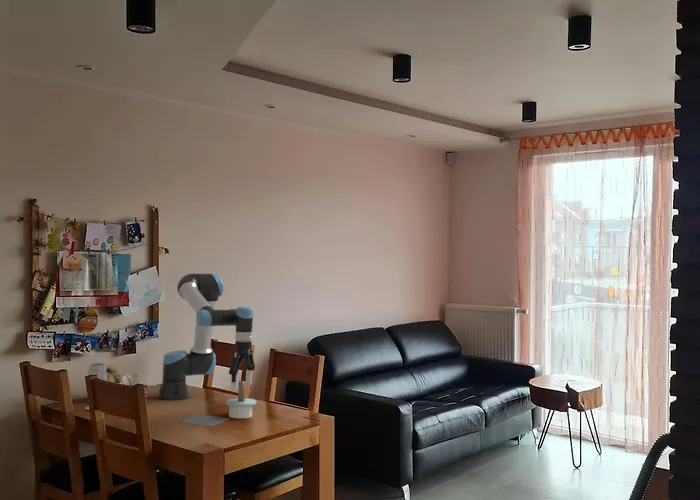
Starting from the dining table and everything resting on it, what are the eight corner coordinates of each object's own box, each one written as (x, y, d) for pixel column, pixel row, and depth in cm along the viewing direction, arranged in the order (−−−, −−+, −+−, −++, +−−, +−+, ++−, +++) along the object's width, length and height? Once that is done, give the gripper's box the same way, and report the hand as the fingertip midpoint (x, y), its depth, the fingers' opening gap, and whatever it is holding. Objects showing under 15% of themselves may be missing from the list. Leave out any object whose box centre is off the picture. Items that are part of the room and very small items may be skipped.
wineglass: (81, 409, 305) (83, 364, 305) (95, 406, 313) (97, 362, 313) (96, 412, 301) (98, 366, 302) (109, 408, 309) (111, 363, 310)
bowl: (236, 412, 309) (236, 400, 309) (256, 415, 306) (256, 402, 306) (224, 417, 299) (225, 404, 299) (245, 420, 296) (245, 407, 296)
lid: (235, 399, 312) (236, 377, 312) (261, 402, 307) (262, 380, 307) (219, 405, 298) (220, 382, 299) (247, 408, 294) (248, 385, 294)
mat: (200, 415, 302) (200, 414, 302) (231, 419, 296) (231, 418, 296) (180, 423, 287) (180, 422, 287) (212, 427, 281) (212, 426, 281)
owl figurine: (94, 396, 335) (96, 362, 336) (119, 395, 340) (121, 362, 340) (94, 403, 319) (96, 368, 319) (120, 402, 323) (122, 367, 323)
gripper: (237, 344, 290) (235, 392, 290) (263, 338, 314) (261, 383, 313) (222, 342, 293) (220, 390, 292) (249, 337, 316) (247, 381, 316)
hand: (241, 386), depth 303 cm, fingers open, 13 cm apart
